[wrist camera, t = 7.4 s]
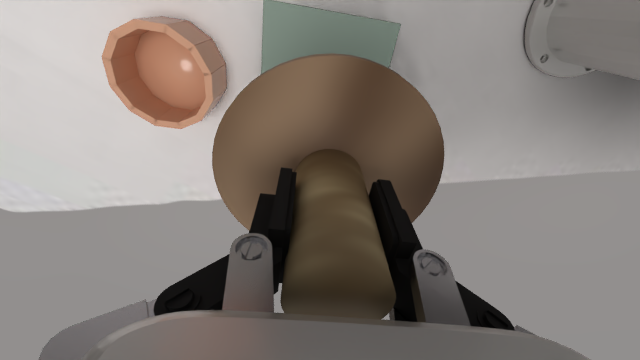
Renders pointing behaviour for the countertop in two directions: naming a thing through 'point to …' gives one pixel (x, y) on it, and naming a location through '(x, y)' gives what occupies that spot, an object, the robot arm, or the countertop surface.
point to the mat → (322, 34)
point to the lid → (330, 172)
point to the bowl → (165, 70)
